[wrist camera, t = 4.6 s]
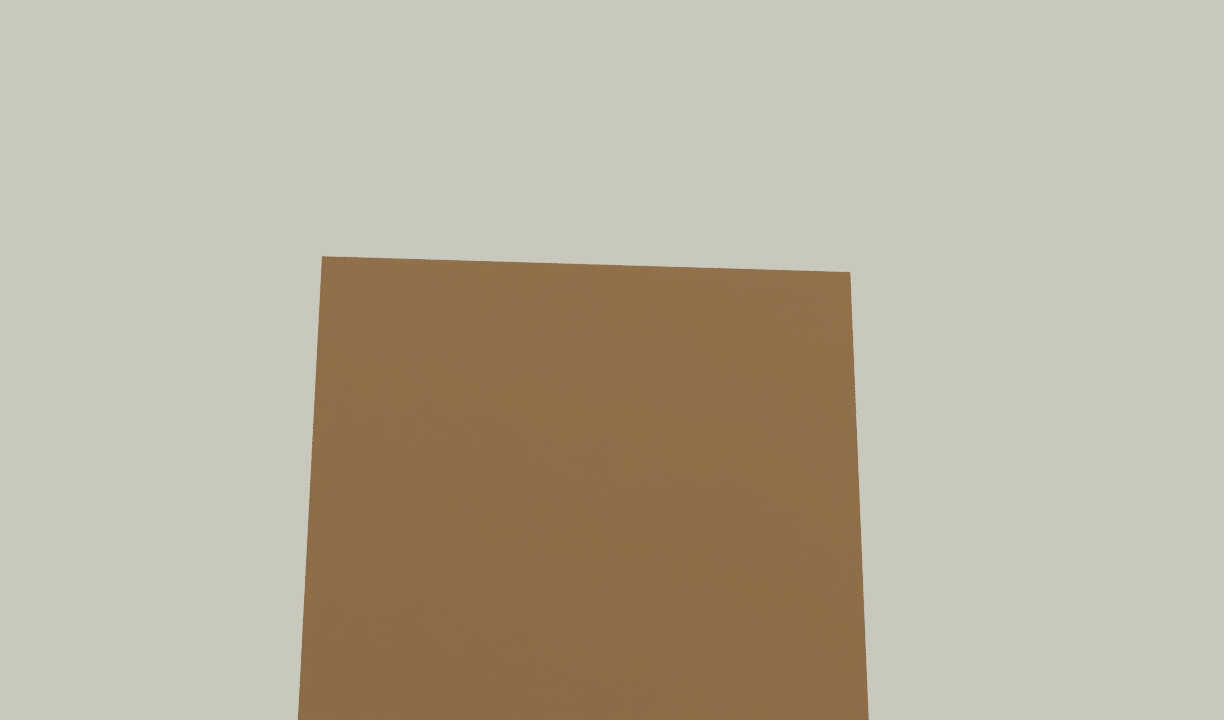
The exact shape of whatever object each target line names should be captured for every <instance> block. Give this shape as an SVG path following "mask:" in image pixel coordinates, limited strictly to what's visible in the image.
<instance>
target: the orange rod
mask: <svg viewBox="0 0 1224 720" xmlns="http://www.w3.org/2000/svg"><path fill="white" fill-rule="evenodd" d="M320 288H321V289H320V306H319V326H318V345H317V364H316V383H315V402H314V423H313V442H312V461H311V480H310V481H311V482H310V499H309V518H308V519H309V520H308V537H307V557H306V576H305V596H304V616H303V634H302V635H303V636H302V654H301V672H300V691H299V711H298V720H869V719H868V695H867V673H866V671H867V670H866V649H865V648H866V647H865V622H864V599H863V598H864V597H863V574H862V550H861V525H860V500H859V477H858V453H857V427H856V403H855V380H854V379H855V378H854V355H853V331H852V305H851V281H850V272H824V271H822V272H821V271H791V270H789V271H788V270H758V269H757V270H756V269H724V268H722V269H721V268H691V267H690V268H689V267H658V266H656V267H655V266H622V265H589V264H556V263H524V262H491V261H458V260H425V259H390V258H358V257H325V256H324V257H322V268H321V287H320Z"/></svg>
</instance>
